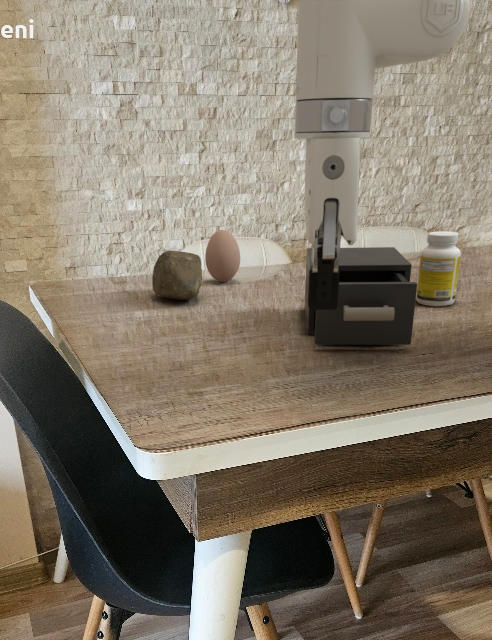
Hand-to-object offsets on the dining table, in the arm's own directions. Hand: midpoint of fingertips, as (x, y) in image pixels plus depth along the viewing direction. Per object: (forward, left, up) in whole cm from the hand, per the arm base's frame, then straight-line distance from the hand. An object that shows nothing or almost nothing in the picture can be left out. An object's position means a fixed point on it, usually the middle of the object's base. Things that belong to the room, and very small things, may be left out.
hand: (322, 307), depth 74 cm
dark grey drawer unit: (-6, -27, -8) cm, 29 cm away
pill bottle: (-21, -39, -9) cm, 45 cm away
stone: (+23, -44, -9) cm, 50 cm away
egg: (+16, -58, -9) cm, 61 cm away
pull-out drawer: (-6, -16, -7) cm, 19 cm away
